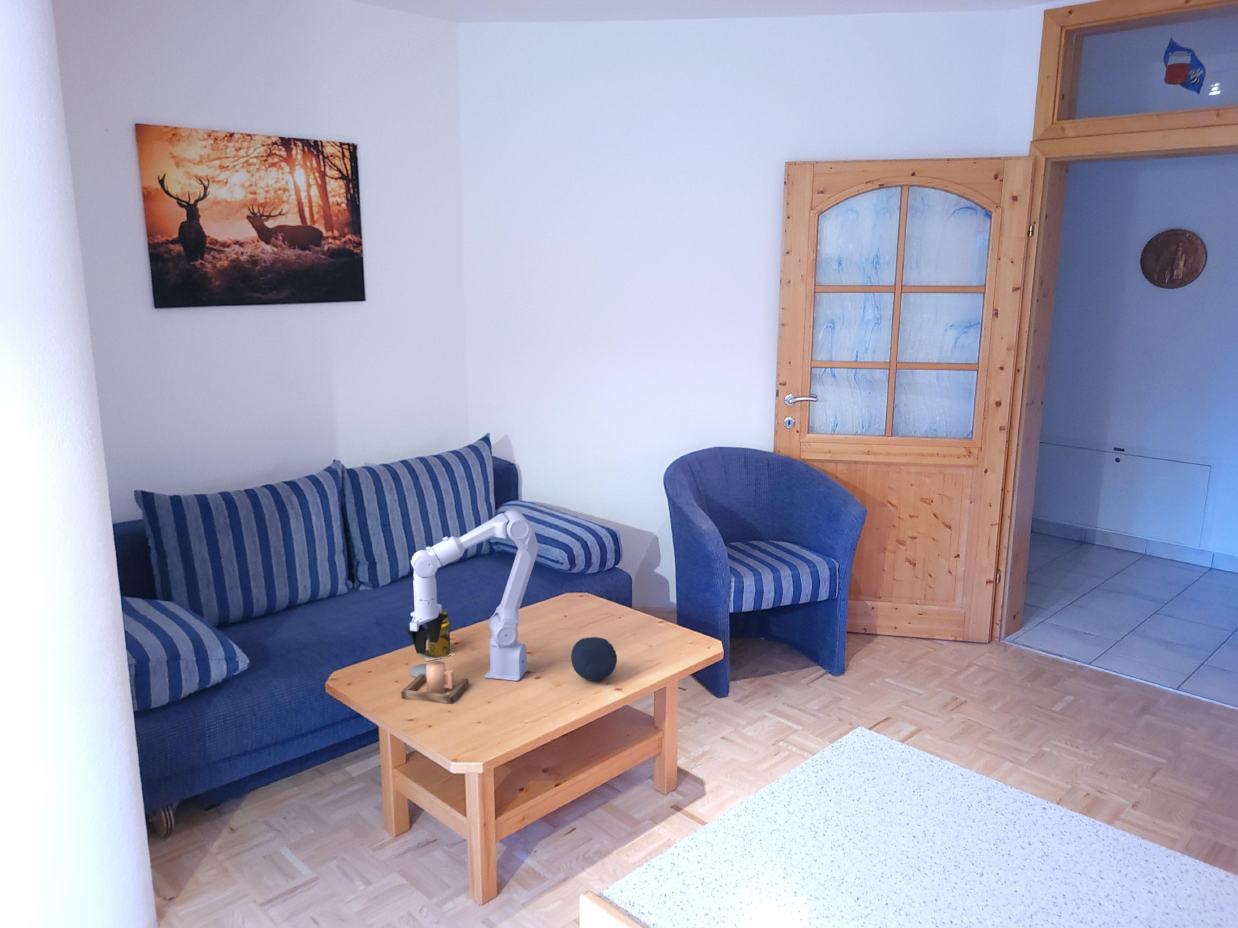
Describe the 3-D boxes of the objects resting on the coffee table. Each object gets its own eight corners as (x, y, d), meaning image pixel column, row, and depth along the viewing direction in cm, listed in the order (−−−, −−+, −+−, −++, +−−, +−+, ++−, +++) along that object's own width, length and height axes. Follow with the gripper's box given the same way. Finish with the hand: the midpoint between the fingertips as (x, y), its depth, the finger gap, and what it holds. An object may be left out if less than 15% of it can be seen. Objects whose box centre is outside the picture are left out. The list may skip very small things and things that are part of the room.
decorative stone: (561, 679, 246) (561, 643, 244) (592, 665, 255) (592, 630, 253) (594, 691, 238) (594, 655, 236) (624, 677, 247) (625, 641, 245)
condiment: (455, 655, 261) (454, 614, 259) (427, 661, 257) (425, 620, 254) (445, 646, 267) (444, 606, 265) (417, 653, 263) (415, 612, 260)
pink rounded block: (456, 688, 240) (455, 663, 239) (449, 696, 235) (448, 670, 234) (431, 685, 242) (431, 660, 240) (423, 693, 237) (422, 667, 236)
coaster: (444, 667, 253) (444, 665, 253) (432, 679, 245) (432, 677, 245) (417, 664, 255) (417, 662, 255) (404, 676, 247) (404, 674, 247)
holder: (468, 685, 242) (468, 678, 242) (451, 703, 231) (451, 697, 231) (420, 679, 245) (420, 673, 245) (401, 698, 234) (401, 691, 234)
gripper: (423, 587, 246) (425, 635, 249) (397, 605, 233) (400, 656, 235) (448, 589, 245) (450, 638, 247) (423, 607, 231) (425, 659, 234)
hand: (427, 647), depth 241 cm, fingers open, 7 cm apart
